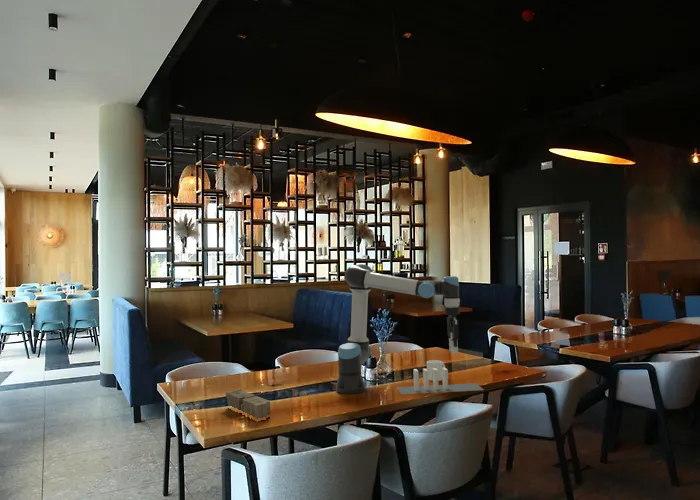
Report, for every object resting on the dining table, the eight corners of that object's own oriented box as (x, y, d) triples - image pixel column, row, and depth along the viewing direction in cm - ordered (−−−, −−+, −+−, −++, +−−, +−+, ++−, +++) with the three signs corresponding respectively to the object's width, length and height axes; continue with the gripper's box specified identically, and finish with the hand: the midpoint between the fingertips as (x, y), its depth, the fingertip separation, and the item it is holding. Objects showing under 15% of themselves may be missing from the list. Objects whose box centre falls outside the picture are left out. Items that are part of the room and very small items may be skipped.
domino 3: (435, 390, 270) (434, 370, 270) (433, 387, 275) (432, 368, 275) (438, 389, 270) (437, 370, 270) (436, 387, 275) (435, 368, 275)
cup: (424, 380, 294) (423, 361, 294) (439, 376, 301) (439, 358, 301) (434, 382, 287) (434, 364, 287) (450, 379, 294) (450, 360, 294)
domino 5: (454, 351, 276) (453, 332, 276) (456, 353, 271) (456, 333, 271) (451, 351, 276) (450, 332, 276) (453, 353, 271) (452, 333, 271)
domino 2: (425, 390, 270) (425, 370, 270) (423, 388, 275) (422, 368, 275) (428, 390, 270) (428, 370, 270) (426, 387, 275) (425, 368, 275)
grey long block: (272, 421, 234) (241, 405, 256) (272, 401, 233) (240, 387, 256) (256, 425, 229) (225, 408, 251) (256, 405, 228) (225, 390, 251)
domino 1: (415, 391, 269) (415, 371, 269) (413, 388, 274) (413, 369, 274) (418, 390, 270) (418, 371, 270) (416, 388, 275) (416, 368, 275)
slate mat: (401, 395, 264) (401, 394, 264) (396, 388, 278) (396, 387, 278) (484, 391, 268) (484, 390, 268) (475, 384, 282) (475, 383, 282)
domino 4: (445, 389, 271) (444, 369, 271) (442, 387, 276) (442, 367, 276) (448, 389, 271) (447, 369, 271) (445, 386, 276) (445, 367, 276)
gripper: (464, 308, 265) (465, 355, 265) (454, 304, 283) (456, 348, 283) (449, 308, 264) (451, 355, 264) (440, 305, 282) (442, 349, 282)
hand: (453, 352), depth 273 cm, fingers closed on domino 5, 5 cm apart
